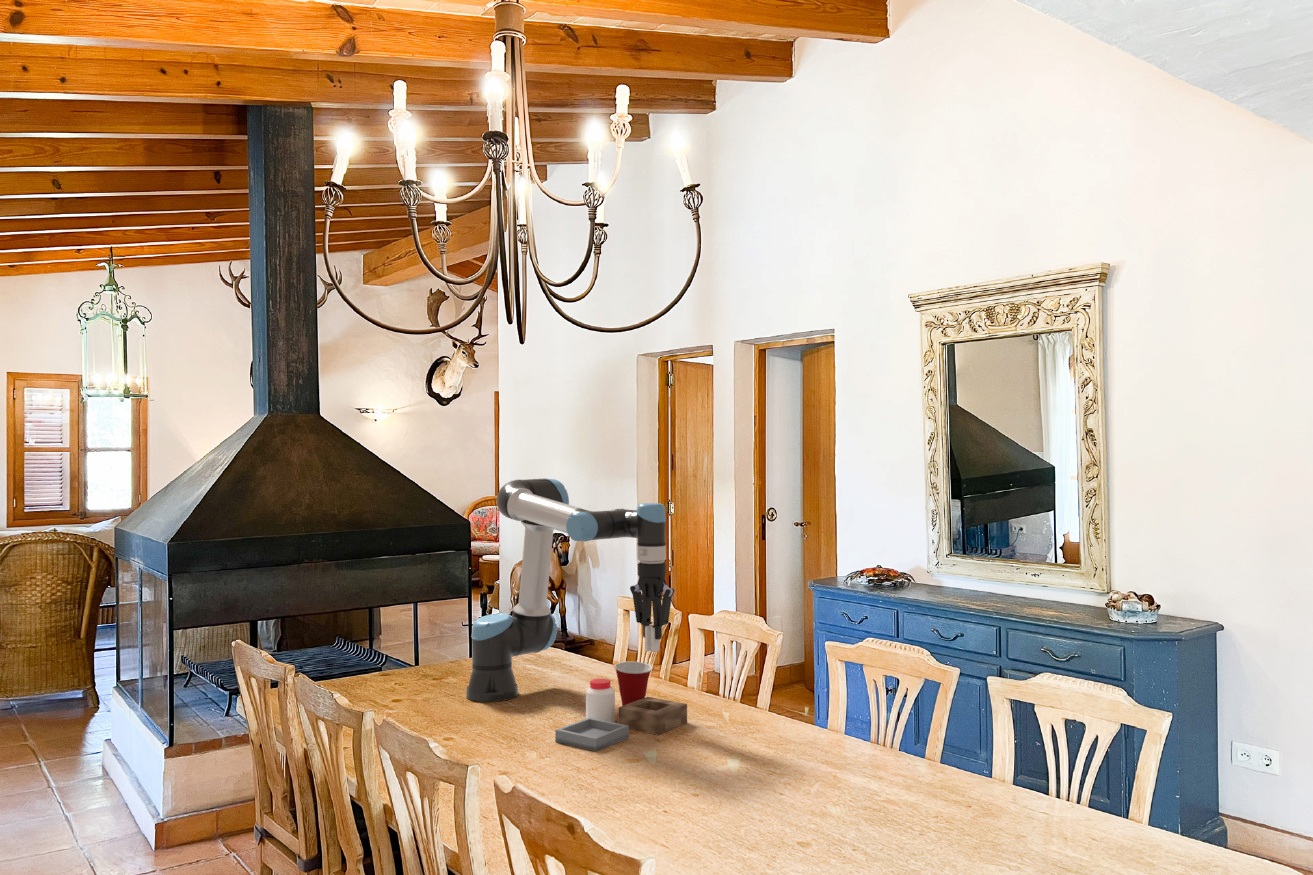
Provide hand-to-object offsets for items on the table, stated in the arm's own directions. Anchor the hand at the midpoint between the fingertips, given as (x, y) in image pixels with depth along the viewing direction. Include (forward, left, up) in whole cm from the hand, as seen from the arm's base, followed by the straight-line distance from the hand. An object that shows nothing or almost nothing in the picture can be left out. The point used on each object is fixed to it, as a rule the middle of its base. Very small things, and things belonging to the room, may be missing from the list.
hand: (652, 650), depth 244 cm
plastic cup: (-14, +10, -20) cm, 26 cm away
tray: (-5, -19, -19) cm, 28 cm away
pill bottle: (-13, -6, -20) cm, 24 cm away
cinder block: (0, 0, -19) cm, 19 cm away
